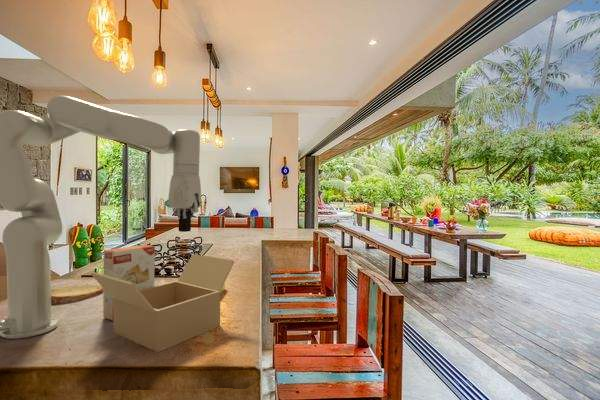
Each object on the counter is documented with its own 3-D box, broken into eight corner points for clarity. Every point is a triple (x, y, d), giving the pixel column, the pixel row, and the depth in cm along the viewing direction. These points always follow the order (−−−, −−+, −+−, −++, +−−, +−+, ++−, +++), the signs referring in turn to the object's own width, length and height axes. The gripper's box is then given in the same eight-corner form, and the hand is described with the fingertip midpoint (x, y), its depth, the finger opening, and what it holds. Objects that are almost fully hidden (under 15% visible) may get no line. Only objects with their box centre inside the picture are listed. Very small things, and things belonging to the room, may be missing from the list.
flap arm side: (155, 310, 83) (154, 312, 83) (114, 296, 94) (112, 298, 94) (132, 282, 78) (131, 284, 78) (91, 271, 89) (89, 272, 89)
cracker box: (113, 322, 102) (113, 251, 102) (102, 318, 106) (102, 249, 105) (155, 308, 114) (155, 245, 114) (144, 305, 117) (144, 243, 117)
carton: (157, 352, 83) (157, 311, 83) (113, 332, 95) (113, 296, 94) (220, 325, 100) (220, 291, 100) (176, 311, 111) (176, 280, 111)
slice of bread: (108, 290, 136) (108, 280, 136) (84, 305, 118) (83, 294, 118) (60, 291, 135) (60, 281, 135) (28, 306, 117) (28, 295, 117)
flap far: (177, 280, 111) (178, 281, 111) (219, 290, 100) (220, 291, 100) (192, 253, 115) (193, 254, 116) (233, 260, 105) (234, 261, 105)
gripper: (160, 170, 107) (158, 230, 107) (192, 170, 98) (190, 234, 99) (181, 172, 113) (179, 228, 113) (212, 171, 104) (210, 232, 105)
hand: (184, 231), depth 106 cm, fingers closed
